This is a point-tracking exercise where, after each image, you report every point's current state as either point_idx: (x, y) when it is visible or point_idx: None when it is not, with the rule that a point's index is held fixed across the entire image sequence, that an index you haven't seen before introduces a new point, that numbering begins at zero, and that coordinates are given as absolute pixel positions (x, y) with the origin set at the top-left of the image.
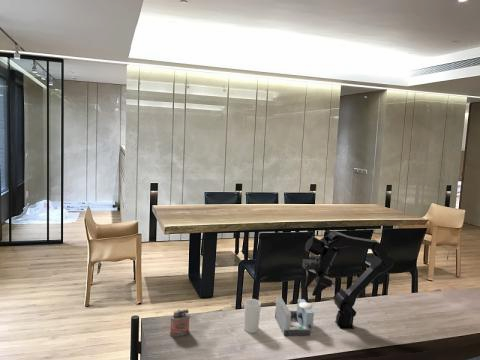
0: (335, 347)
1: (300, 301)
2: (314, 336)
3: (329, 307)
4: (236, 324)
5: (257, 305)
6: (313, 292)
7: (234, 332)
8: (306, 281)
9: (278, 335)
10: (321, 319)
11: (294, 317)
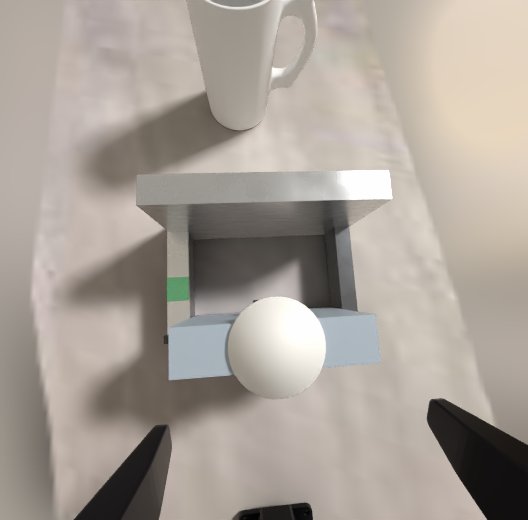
0: (79, 427)
1: (342, 324)
2: None
3: (457, 516)
4: None
5: (261, 36)
6: (122, 465)
7: None
8: (503, 446)
9: None
10: (329, 432)
11: (331, 299)
